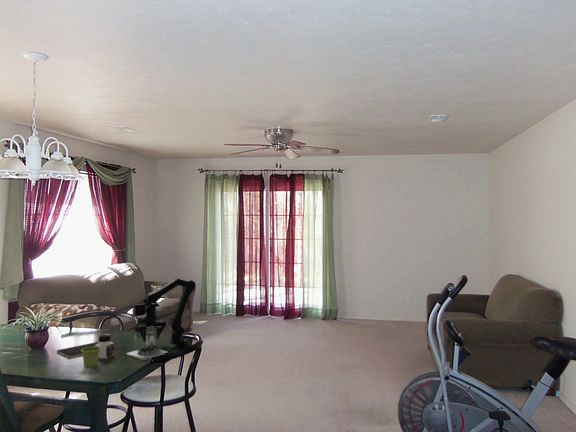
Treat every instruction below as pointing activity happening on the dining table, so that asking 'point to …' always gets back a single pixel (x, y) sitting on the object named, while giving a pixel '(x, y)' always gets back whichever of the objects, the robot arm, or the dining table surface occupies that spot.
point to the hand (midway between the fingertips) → (150, 340)
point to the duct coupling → (150, 339)
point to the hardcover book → (75, 350)
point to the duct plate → (143, 357)
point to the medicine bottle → (105, 346)
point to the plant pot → (90, 356)
